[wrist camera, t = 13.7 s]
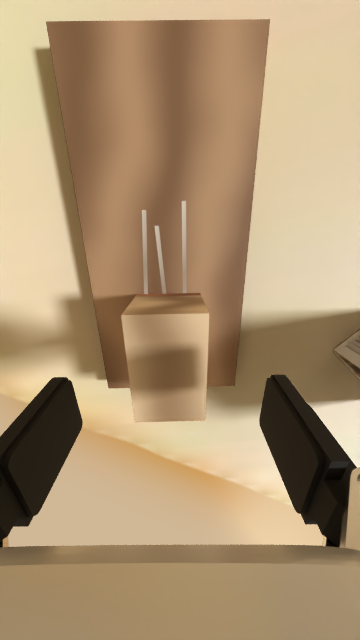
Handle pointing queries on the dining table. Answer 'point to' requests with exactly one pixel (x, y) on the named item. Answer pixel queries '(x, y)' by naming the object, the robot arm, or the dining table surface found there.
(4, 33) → the dining table surface
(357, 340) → the coffee box
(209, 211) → the board
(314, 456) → the robot arm
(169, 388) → the block
